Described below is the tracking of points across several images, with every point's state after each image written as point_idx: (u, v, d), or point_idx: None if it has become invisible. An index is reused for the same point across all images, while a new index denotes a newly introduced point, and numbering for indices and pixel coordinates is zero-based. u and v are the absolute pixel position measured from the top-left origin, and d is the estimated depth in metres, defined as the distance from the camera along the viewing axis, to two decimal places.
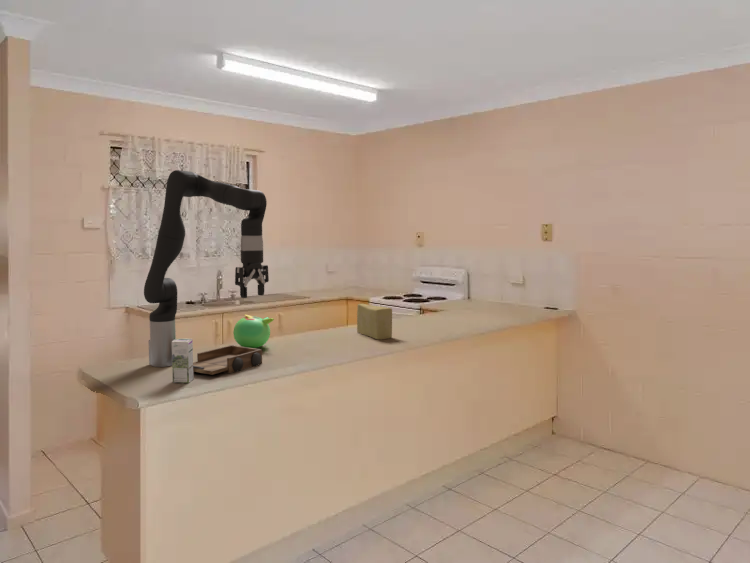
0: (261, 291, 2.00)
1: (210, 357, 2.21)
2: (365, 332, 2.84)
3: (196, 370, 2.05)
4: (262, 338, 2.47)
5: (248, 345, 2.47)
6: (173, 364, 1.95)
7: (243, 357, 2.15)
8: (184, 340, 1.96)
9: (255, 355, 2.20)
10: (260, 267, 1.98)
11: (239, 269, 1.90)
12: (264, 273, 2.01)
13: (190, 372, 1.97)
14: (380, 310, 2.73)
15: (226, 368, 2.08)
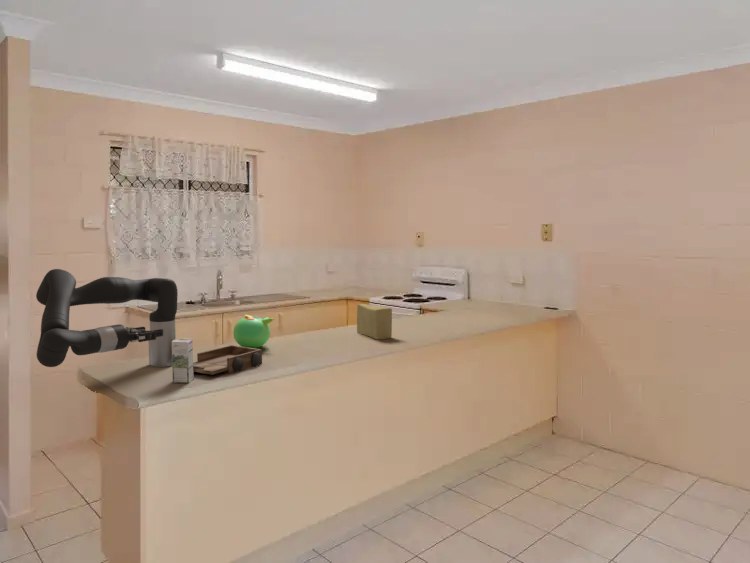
0: (141, 328, 1.86)
1: (210, 357, 2.21)
2: (365, 332, 2.84)
3: (196, 370, 2.05)
4: (262, 338, 2.47)
5: (248, 345, 2.47)
6: (173, 364, 1.95)
7: (243, 357, 2.15)
8: (184, 340, 1.96)
9: (255, 355, 2.20)
10: None
11: (141, 335, 1.74)
12: None
13: (190, 372, 1.97)
14: (380, 310, 2.73)
15: (226, 368, 2.08)
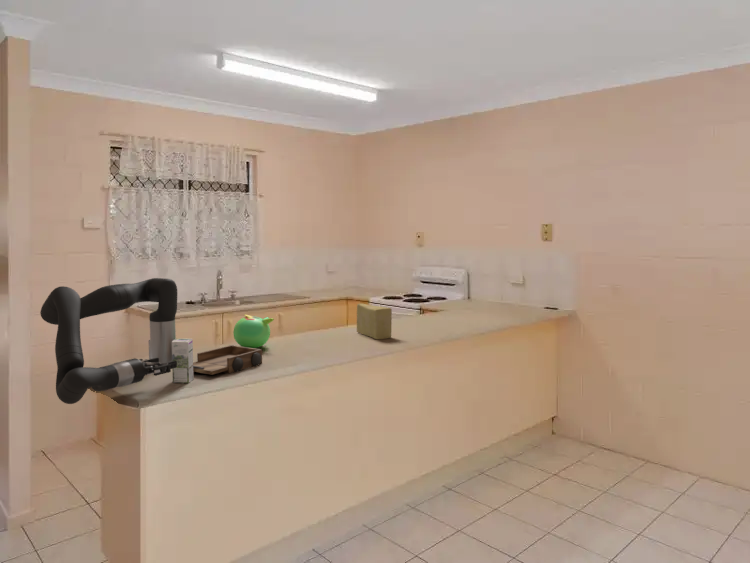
0: (155, 360, 1.92)
1: (210, 357, 2.21)
2: (365, 332, 2.84)
3: (196, 370, 2.05)
4: (262, 338, 2.47)
5: (248, 345, 2.47)
6: None
7: (243, 357, 2.15)
8: (184, 340, 1.96)
9: (255, 355, 2.20)
10: None
11: (157, 369, 1.79)
12: None
13: (190, 372, 1.97)
14: (379, 310, 2.73)
15: (226, 368, 2.08)
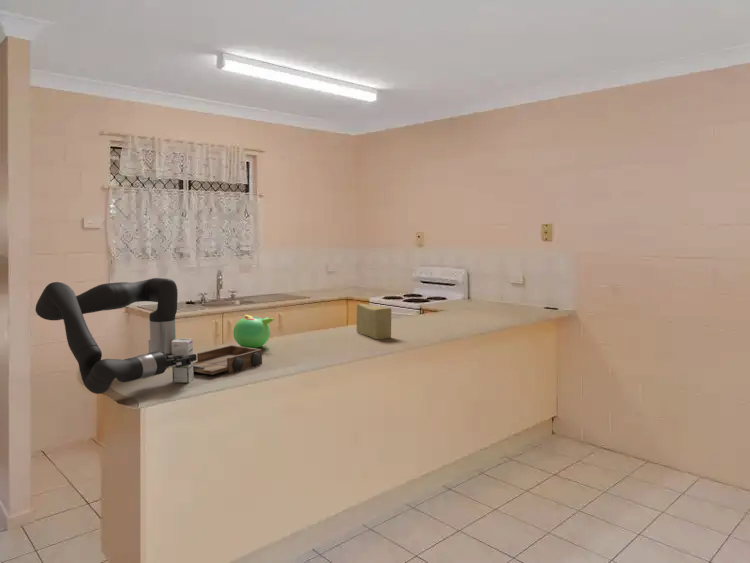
0: None
1: (210, 357, 2.21)
2: (365, 332, 2.84)
3: (196, 370, 2.05)
4: (262, 338, 2.47)
5: (248, 345, 2.47)
6: None
7: (243, 357, 2.15)
8: (184, 340, 1.96)
9: (255, 355, 2.20)
10: None
11: (178, 362, 1.87)
12: None
13: (190, 372, 1.97)
14: (379, 310, 2.73)
15: (226, 368, 2.08)
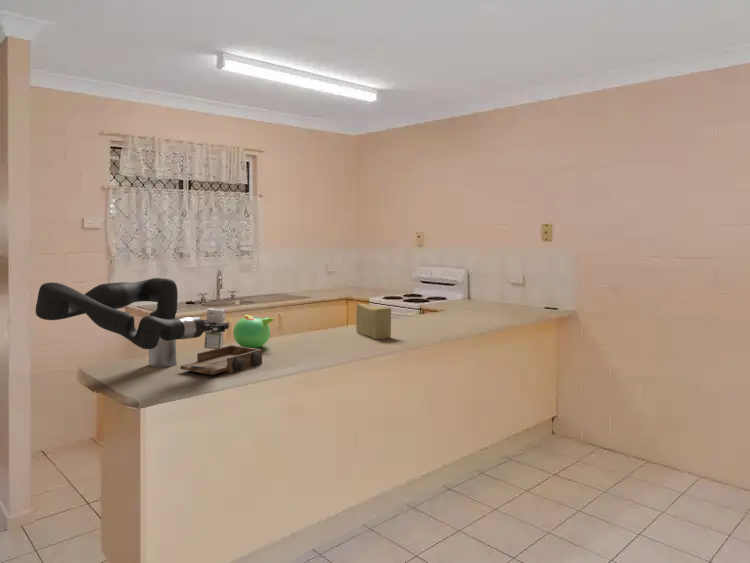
0: None
1: (210, 357, 2.21)
2: (364, 332, 2.84)
3: (196, 370, 2.05)
4: (262, 338, 2.47)
5: (248, 345, 2.47)
6: None
7: (243, 357, 2.15)
8: (219, 309, 2.09)
9: (255, 355, 2.20)
10: None
11: (215, 327, 2.01)
12: None
13: (221, 339, 2.10)
14: (379, 310, 2.73)
15: (226, 368, 2.08)
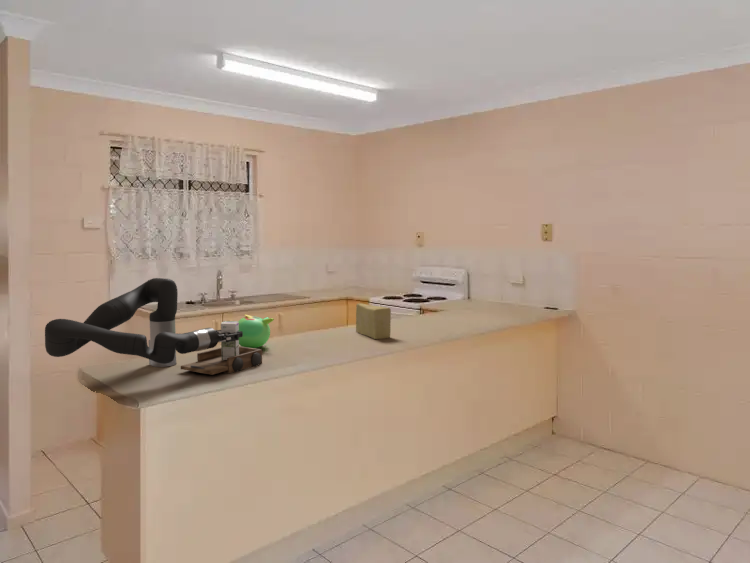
0: None
1: (210, 357, 2.21)
2: (364, 332, 2.84)
3: (196, 370, 2.05)
4: (262, 338, 2.47)
5: (248, 345, 2.47)
6: (222, 344, 2.17)
7: (243, 357, 2.15)
8: (232, 322, 2.18)
9: (255, 355, 2.20)
10: None
11: (228, 337, 2.09)
12: None
13: (237, 351, 2.19)
14: (378, 310, 2.73)
15: (226, 368, 2.08)
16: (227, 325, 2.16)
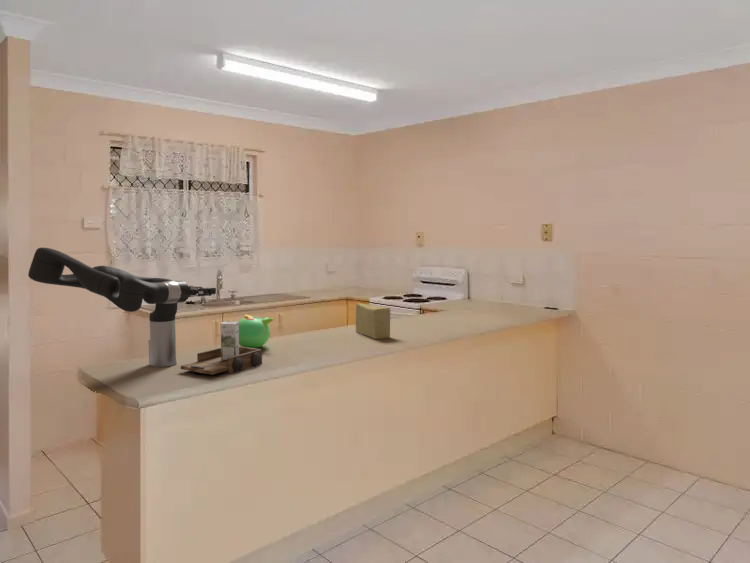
0: None
1: (210, 357, 2.21)
2: (364, 332, 2.84)
3: (196, 370, 2.05)
4: (262, 338, 2.47)
5: (248, 345, 2.47)
6: (222, 344, 2.17)
7: (243, 357, 2.15)
8: (231, 322, 2.18)
9: (255, 355, 2.20)
10: None
11: (201, 290, 1.97)
12: None
13: (236, 351, 2.19)
14: (378, 310, 2.74)
15: (226, 368, 2.08)
16: (227, 325, 2.16)
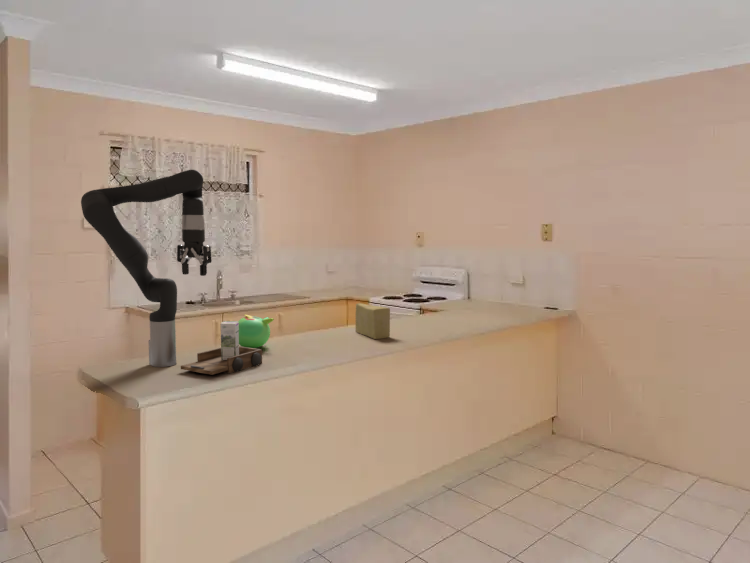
0: (187, 270, 2.03)
1: (210, 357, 2.21)
2: (363, 332, 2.85)
3: (196, 370, 2.05)
4: (262, 338, 2.47)
5: (248, 345, 2.47)
6: (222, 344, 2.17)
7: (243, 357, 2.15)
8: (231, 322, 2.18)
9: (255, 355, 2.20)
10: None
11: (209, 247, 1.97)
12: (183, 252, 2.04)
13: (236, 351, 2.19)
14: (378, 310, 2.74)
15: (226, 368, 2.08)
16: (227, 325, 2.16)
